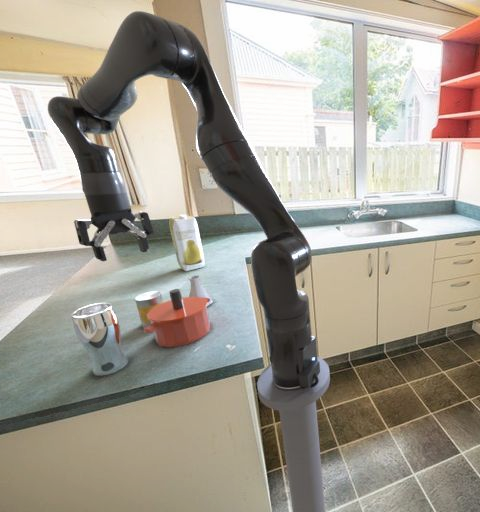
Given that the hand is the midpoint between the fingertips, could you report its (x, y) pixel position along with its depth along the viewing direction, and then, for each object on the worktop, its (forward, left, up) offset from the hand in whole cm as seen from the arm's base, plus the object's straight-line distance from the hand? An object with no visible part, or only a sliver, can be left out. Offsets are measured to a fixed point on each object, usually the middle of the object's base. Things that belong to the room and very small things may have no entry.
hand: (124, 255), depth 76 cm
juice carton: (+32, -46, -23) cm, 60 cm away
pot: (-11, -3, -23) cm, 25 cm away
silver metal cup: (-7, +13, -23) cm, 27 cm away
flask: (-1, -18, -23) cm, 29 cm away
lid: (-11, -3, -15) cm, 19 cm away
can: (+2, -5, -23) cm, 23 cm away
